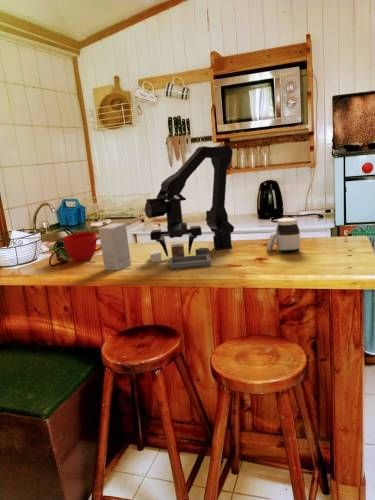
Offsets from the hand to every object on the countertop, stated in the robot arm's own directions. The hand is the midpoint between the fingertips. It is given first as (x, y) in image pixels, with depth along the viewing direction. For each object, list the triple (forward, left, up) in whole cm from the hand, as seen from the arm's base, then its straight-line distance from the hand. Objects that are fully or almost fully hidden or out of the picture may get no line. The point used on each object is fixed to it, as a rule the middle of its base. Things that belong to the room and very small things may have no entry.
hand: (178, 255), depth 150 cm
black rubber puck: (-9, +2, -1) cm, 9 cm away
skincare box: (+22, +5, -1) cm, 23 cm away
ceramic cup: (+37, -12, -1) cm, 39 cm away
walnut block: (0, 0, -1) cm, 1 cm away
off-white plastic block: (+9, -1, -1) cm, 9 cm away
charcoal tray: (-4, +11, -1) cm, 12 cm away
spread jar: (-38, +5, -1) cm, 38 cm away
